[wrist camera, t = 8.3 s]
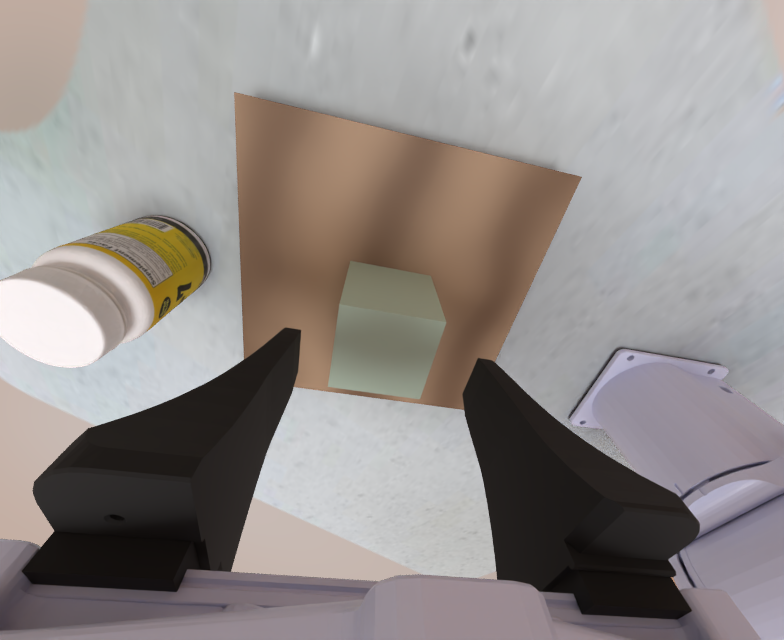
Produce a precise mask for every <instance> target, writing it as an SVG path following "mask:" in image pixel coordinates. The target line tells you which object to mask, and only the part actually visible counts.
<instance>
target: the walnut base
mask: <svg viewBox="0 0 784 640" xmlns="http://www.w3.org/2000/svg"><path fill="white" fill-rule="evenodd" d="M234 98H235V125H236V152H237V180H238V207H239V234H240V261H241V288H242V316H243V343H244V359H246V358H247V357H249V356H250V355H251V354H253V353H254V352H255V351H256V350H258V349H259V348H260V347H262V346H263V345H264V344H265V343H267V342H268V341H269V340H270V339H271V338H273V337H274V336H275V335H276V334H277V333H278V332H280V331H281V330H282V329H284V328H285V327H286V328H293V329H299V330H301V341H300V355H299V368H298V374H297V377H296V381H295V384H294V387H298V388H306V389H313V390H321V391H328V392H336V393H343V394H351V395H358V396H365V397H373V398H380V399H388V400H395V401H403V402H410V403H418V404H425V405H432V406H440V407H447V408H455V409H462V410H464V404H463V396H462V394H463V391H464V389H465V387H466V384H467V382H468V380H469V377H470V375H471V373H472V370H473V368H474V366H475V364H476V361H477V359H478V358H482V359H488V360H492V361H494V362H495V360H496V358H497V356H498V354H499V352H500V350H501V347H502V345H503V343H504V341H505V339H506V337H507V335H508V333H509V331H510V328H511V326H512V324H513V322H514V320H515V318H516V316H517V314H518V311H519V309H520V307H521V305H522V303H523V301H524V299H525V297H526V294H527V292H528V290H529V288H530V286H531V284H532V282H533V280H534V277H535V275H536V273H537V271H538V269H539V267H540V265H541V263H542V261H543V258H544V256H545V254H546V252H547V250H548V248H549V246H550V244H551V241H552V239H553V237H554V235H555V233H556V231H557V229H558V227H559V224H560V222H561V220H562V218H563V216H564V214H565V212H566V210H567V207H568V205H569V203H570V201H571V199H572V197H573V195H574V193H575V190H576V188H577V186H578V184H579V182H580V180H581V178H582V177H580V176H576V175H572V174H567V173H563V172H559V171H555V170H551V169H547V168H543V167H539V166H535V165H531V164H526V163H522V162H518V161H514V160H510V159H506V158H502V157H498V156H494V155H490V154H485V153H481V152H477V151H473V150H469V149H465V148H461V147H457V146H453V145H449V144H444V143H440V142H436V141H432V140H428V139H424V138H420V137H416V136H412V135H408V134H404V133H399V132H395V131H391V130H387V129H383V128H379V127H375V126H371V125H367V124H363V123H358V122H354V121H350V120H346V119H342V118H338V117H334V116H330V115H326V114H322V113H317V112H313V111H309V110H305V109H301V108H297V107H293V106H289V105H285V104H281V103H276V102H272V101H268V100H264V99H260V98H256V97H252V96H248V95H244V94H240V93H235V92H234ZM350 261H354V262H360V263H365V264H370V265H376V266H381V267H386V268H392V269H397V270H402V271H408V272H413V273H418V274H424V275H429V276H431V278H432V281H433V284H434V287H435V290H436V293H437V296H438V299H439V302H440V305H441V308H442V311H443V314H444V317H445V320H446V325H445V328H444V331H443V334H442V337H441V340H440V343H439V346H438V348H437V351H436V354H435V357H434V360H433V363H432V366H431V369H430V372H429V374H428V377H427V380H426V383H425V386H424V389H423V392H422V395H421V398H420V399H413V398H406V397H398V396H391V395H384V394H376V393H369V392H362V391H354V390H347V389H340V388H332V387H328V382H329V375H330V368H331V361H332V353H333V346H334V339H335V332H336V325H337V318H338V311H339V304H340V300H341V296H342V292H343V288H344V284H345V280H346V276H347V272H348V268H349V264H350Z"/></svg>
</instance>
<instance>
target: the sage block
mask: <svg viewBox="0 0 784 640" xmlns="http://www.w3.org/2000/svg"><path fill="white" fill-rule="evenodd" d="M445 325H446V320H445V317H444V314H443V311H442V308H441V305H440V302H439V299H438V296H437V293H436V290H435V287H434V284H433V281H432V278H431V276H429V275H424V274H418V273H413V272H408V271H402V270H397V269H392V268H386V267H381V266H376V265H370V264H365V263H360V262H354V261H350V264H349V268H348V272H347V276H346V280H345V284H344V288H343V292H342V296H341V300H340V304H339V311H338V318H337V325H336V332H335V339H334V346H333V353H332V361H331V368H330V375H329V382H328V387H332V388H340V389H347V390H354V391H362V392H369V393H376V394H384V395H391V396H398V397H406V398H413V399H420V398H421V395H422V392H423V389H424V386H425V383H426V380H427V377H428V374H429V372H430V369H431V366H432V363H433V360H434V357H435V354H436V351H437V348H438V346H439V343H440V340H441V337H442V334H443V331H444V328H445Z"/></svg>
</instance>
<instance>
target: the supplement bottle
mask: <svg viewBox="0 0 784 640" xmlns="http://www.w3.org/2000/svg"><path fill="white" fill-rule="evenodd" d="M209 271H210V258H209V254H208V252H207V249H206V247H205V245H204V244H203V242H202V241H201V240H200V238H199V237H198V236H197V235H196V234H195V233H194V232H193V231H192V230H190V229H189V228H188V227H186V226H185V225H183V224H182V223H180V222H178V221H176V220H174V219H171V218H168V217H163V216H146V217H142V218H138V219H136V220H133V221H130V222H127V223H125V224H122V225H119V226H116V227H113V228H110V229H107V230H105V231H102V232H99V233H96V234H93V235H91V236H88V237H85V238H82V239H79V240H76V241H73V242H71V243H68V244H65V245H62V246H59V247H56V248H53V249H51V250H49V251H47V252H46V253H44V254H42V255H41V256H40V257H39V258H38V259H37V260H36V261H35V262H34V264H33V266H32V267H31V268H28V269H25V270H23V271H21V272H19V273H17V274H14V275H12V276H10V277H7V278H5V279H2V280H0V336H1V337H2V338H3V339H4V340H5V341H6V342H7V343H8V344H10V345H11V346H12V347H14V348H15V349H17V350H18V351H20V352H21V353H23V354H25V355H27V356H29V357H31V358H33V359H35V360H37V361H40V362H43V363H45V364H49V365H53V366H58V367H67V368H75V367H83V366H86V365H89V364H92V363H94V362H95V361H97V360H99V359H100V358H101V357H102V356H104V355H105V354H107V353H108V352H109V351H111V350H113V349H115V348H116V347H117V346H118V345H119V344H121V343H126V342H129V341H132V340H134V339H136V338H138V337H140V336H141V335H143V334H144V333H145V332H147V331H148V330H149V329H151V328H152V327H153V326H154V325H155V324H156V323H157V322H159V321H160V320H161V319H162V318H163V317H164V316H166V315H167V314H168V313H169V312H170V311H171V310H172V309H174V308H175V307H176V306H177V305H179V304H180V303H181V302H182V301H183V300H184V299H186V298H187V297H188V296H189V295H190V294H192V293H193V292H194V291H195V290H196V289H198V288H199V287H200V286H201V285H202V284H203V283H204V281H205V280H206V278H207V276H208V274H209Z"/></svg>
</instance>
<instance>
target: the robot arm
mask: <svg viewBox="0 0 784 640" xmlns="http://www.w3.org/2000/svg"><path fill="white" fill-rule="evenodd" d="M300 341H301V330H299V329H293V328H286V327H285V328H284V329H282V330H281V331H280V332H278V333H277V334H276V335H275V336H274V337H273V338H271V339H270V340H269V341H268V342H267V343H265V344H264V345H263V346H262V347H260V348H259V349H258V350H256V351H255V352H254V353H253V354H251V355H250V356H249V357H247V358H246V359H244V360H243V361H241V362H240V363H238V364H237V365H235V366H234V367H233V368H231V369H230V370H228V371H226V372H225V373H223V374H221V375H220V376H218V377H216V378H215V379H213V380H211V381H209V382H207V383H206V384H204V385H202V386H199V387H197V388H195V389H193V390H191V391H189V392H187V393H185V394H183V395H180V396H178V397H176V398H174V399H172V400H169V401H167V402H164V403H162V404H159V405H157V406H154V407H152V408H149V409H146V410H144V411H141V412H138V413H135V414H132V415H129V416H126V417H123V418H120V419H117V420H114V421H111V422H108V423H104V424H101V425H98V426H95V427H91V428H88V429H87V430H86V431H85V432H84V433H83V434H82V435H81V436H79V437H78V438H77V439H76V440H75V441H74V442H73V443H72V444H71V445H70V446H69V447H68V448H67V449H66V450H65V451H64V452H63V453H62V454H61V455H60V456H59V457H58V458H57V459H56V460H55V461H54V462H53V463H52V464H51V465H50V466H49V467H48V468H47V469H46V470H45V471H44V472H43V474H41V475H40V476H39V477H38V479H36V481H35V482H34V486H33V494H34V497H35V500H36V502H37V504H38V506H39V507H40V509H41V510H42V512H43V513H44V515H45V517H46V518H47V520H48V521H49V523H50V524H51V526H52V528H53V529H54V532H53V534H52V535H51V536H50V537H49V538H48V540H47V541H46V542H45V543H44V545H43V546H42V547H40V546H39V545H37V544H34V543H31V542H27V541H21V540H7V539H0V640H784V425H782V424H781V423H780V422H778V421H777V420H776V419H774V418H773V417H772V416H770V415H769V414H767V413H766V412H765V411H763V410H762V409H761V408H759V407H758V406H757V405H755V404H754V403H752V402H751V401H750V400H748V399H747V398H746V397H744V396H743V395H741V394H740V393H739V392H737V391H736V390H735V389H733V388H732V387H731V386H729V385H728V384H726V383H725V382H724V381H722V379H723V378H724V377H725V376H726V375H727V374H728V372H729V370H728V369H727V368H726V367H725V366H722V365H716V364H710V363H704V362H698V361H693V360H687V359H681V358H675V357H669V356H663V355H658V354H652V353H646V352H640V351H634V350H628V349H621V350H619V351H617V352H616V353H615V355H614V356H613V358H612V359H611V361H610V362H609V363H608V365H607V366H606V368H605V369H604V370H603V372H602V373H601V375H600V376H599V378H598V379H597V380H596V382H595V383H594V385H593V386H592V387H591V389H590V390H589V392H588V393H587V395H586V396H585V397H584V399H583V400H582V402H581V403H580V405H579V406H578V407H577V409H576V410H575V412H574V413H573V414H572V416H571V417H570V419H569V420H570V422H571V424H572V425H575V426H582V427H590V428H597V429H604V431H605V432H606V433H607V435H608V436H609V438H610V439H611V440H612V442H613V443H614V444H615V446H616V447H617V448H618V450H619V451H620V452H621V454H622V455H623V456H624V458H625V459H626V460H627V462H628V463H629V464H630V466H631V467H632V469H633V470H634V471H635V472H634V471H632V470H630V469H629V468H627V467H625V466H624V465H622V464H620V463H618V462H617V461H615V460H613V459H612V458H610V457H609V456H607V455H605V454H604V453H602V452H601V451H599V450H598V449H596V448H595V447H593V446H592V445H590V444H589V443H587V442H586V441H584V440H583V439H581V438H580V437H579V436H577V435H576V434H574V433H573V432H572V431H571V430H569V429H568V428H567V427H565V426H564V425H563V424H561V423H560V422H559V421H558V420H556V419H555V418H554V417H553V416H551V415H550V414H549V413H548V412H547V411H546V410H545V409H543V408H542V407H541V406H540V405H539V404H538V403H537V402H536V401H534V400H533V399H532V398H531V397H530V396H529V395H528V394H527V393H526V392H525V391H524V390H523V389H522V388H521V387H520V386H519V385H518V384H517V383H516V382H515V381H514V380H513V379H512V378H511V377H510V376H508V375H507V374H506V373H505V372H504V371H503V370H502V369H501V368H500V367H499V366H498V365H497V364H496V363H495V362H494V361H492V360H488V359H482V358H478V359H477V361H476V364H475V366H474V368H473V370H472V373H471V375H470V377H469V380H468V382H467V384H466V387H465V389H464V391H463V394H462V396H463V404H464V411H465V417H466V420H467V424H468V428H469V431H470V435H471V438H472V441H473V445H474V448H475V451H476V455H477V458H478V462H479V465H480V469H481V473H482V477H483V482H484V487H485V493H486V498H487V504H488V510H489V517H490V523H491V530H492V537H493V545H494V553H495V561H496V572H497V580H493V579H492V580H491V579H478V578H463V577H449V576H434V575H419V574H418V575H399V576H394V577H391V578H388V579H385V580H382V581H365V580H349V579H334V578H333V579H332V578H317V577H302V576H287V575H286V576H285V575H271V574H255V573H239V572H231V569H232V565H233V562H234V559H235V555H236V551H237V548H238V544H239V541H240V537H241V533H242V530H243V527H244V524H245V520H246V517H247V514H248V510H249V507H250V503H251V500H252V497H253V494H254V491H255V487H256V484H257V481H258V478H259V475H260V471H261V468H262V465H263V462H264V459H265V456H266V453H267V450H268V448H269V445H270V442H271V440H272V438H273V436H274V433H275V431H276V429H277V426H278V424H279V422H280V419H281V417H282V415H283V413H284V410H285V408H286V406H287V403H288V401H289V399H290V396H291V394H292V391H293V387H294V384H295V381H296V377H297V374H298V368H299V355H300ZM671 577H673V578H674V581H675V583H676V585H677V586H676V585H675V583H674V582H673V580H672V579H671ZM677 587H678V588H677Z"/></svg>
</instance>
